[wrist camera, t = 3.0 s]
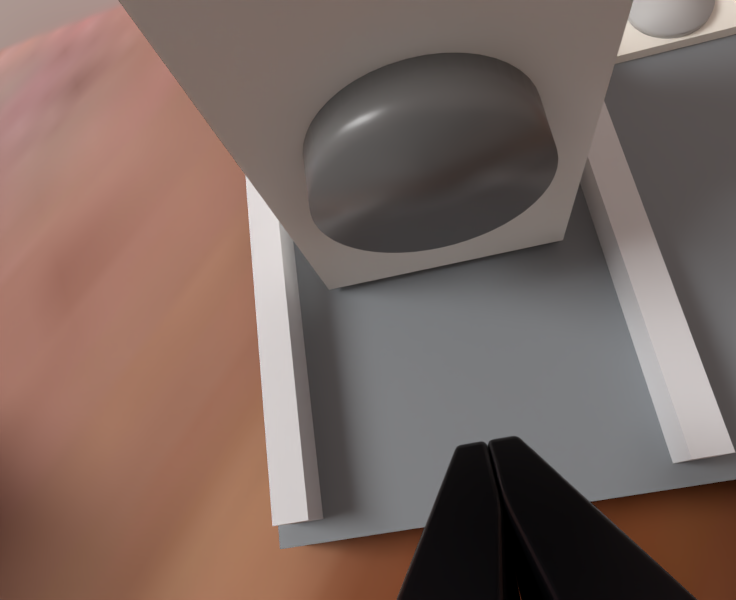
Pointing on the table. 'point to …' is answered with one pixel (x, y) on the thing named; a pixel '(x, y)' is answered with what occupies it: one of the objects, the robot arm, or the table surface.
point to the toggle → (398, 117)
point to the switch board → (529, 320)
